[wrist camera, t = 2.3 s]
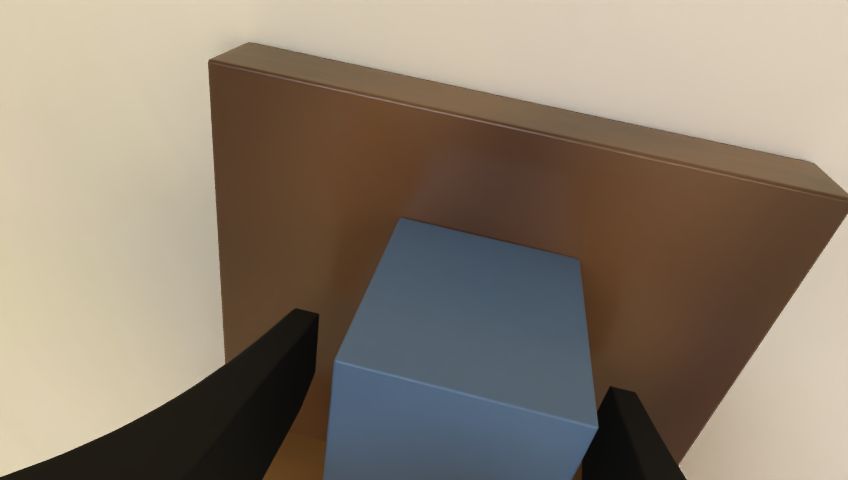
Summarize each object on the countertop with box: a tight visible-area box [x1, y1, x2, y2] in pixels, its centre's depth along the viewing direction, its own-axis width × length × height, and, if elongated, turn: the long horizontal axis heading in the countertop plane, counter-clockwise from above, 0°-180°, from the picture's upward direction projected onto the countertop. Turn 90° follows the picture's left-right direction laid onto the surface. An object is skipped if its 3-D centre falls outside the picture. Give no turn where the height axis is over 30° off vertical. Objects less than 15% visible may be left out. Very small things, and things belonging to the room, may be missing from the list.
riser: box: [208, 42, 848, 480], centre depth 17 cm, size 14×21×5 cm, turn 171°
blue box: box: [323, 218, 598, 480], centre depth 13 cm, size 4×6×5 cm
